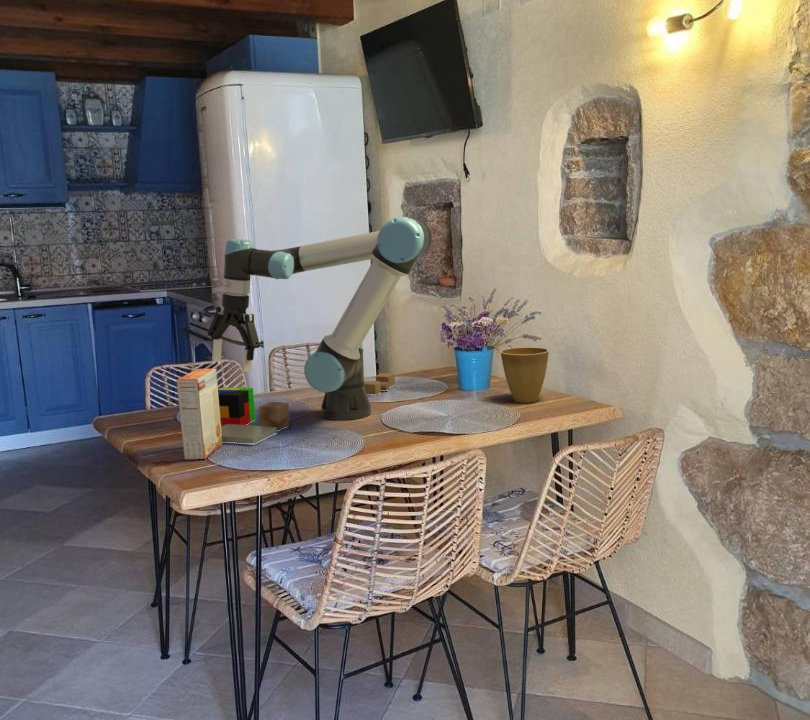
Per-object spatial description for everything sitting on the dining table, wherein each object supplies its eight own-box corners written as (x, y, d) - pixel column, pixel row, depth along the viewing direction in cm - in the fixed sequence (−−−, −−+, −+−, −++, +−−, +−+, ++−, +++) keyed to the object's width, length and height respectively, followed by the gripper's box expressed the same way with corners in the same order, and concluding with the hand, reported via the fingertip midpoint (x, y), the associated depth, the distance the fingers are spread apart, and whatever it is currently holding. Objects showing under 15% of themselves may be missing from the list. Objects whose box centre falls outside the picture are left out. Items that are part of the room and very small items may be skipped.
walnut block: (289, 426, 234) (288, 402, 233) (279, 431, 229) (277, 407, 227) (271, 425, 236) (269, 401, 235) (260, 430, 231) (259, 406, 230)
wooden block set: (377, 381, 269) (329, 379, 276) (378, 397, 270) (330, 395, 277) (397, 371, 284) (351, 369, 291) (398, 387, 285) (351, 385, 292)
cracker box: (201, 445, 217) (195, 368, 213) (223, 445, 216) (217, 367, 213) (182, 460, 203) (175, 378, 200) (205, 460, 203) (199, 378, 199)
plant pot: (547, 395, 263) (547, 346, 260) (550, 405, 248) (550, 353, 245) (500, 395, 264) (500, 347, 262) (501, 406, 250) (500, 354, 247)
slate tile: (276, 434, 226) (276, 427, 225) (253, 445, 214) (253, 438, 214) (227, 430, 231) (227, 423, 231) (202, 441, 220) (202, 434, 220)
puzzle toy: (208, 428, 235) (206, 394, 234) (224, 419, 245) (221, 387, 243) (240, 429, 233) (238, 395, 231) (255, 420, 242) (252, 387, 241)
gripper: (197, 287, 237) (194, 358, 242) (255, 301, 223) (250, 376, 227) (218, 286, 243) (214, 356, 248) (275, 300, 229) (270, 373, 233)
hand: (231, 366), depth 237 cm, fingers open, 13 cm apart
